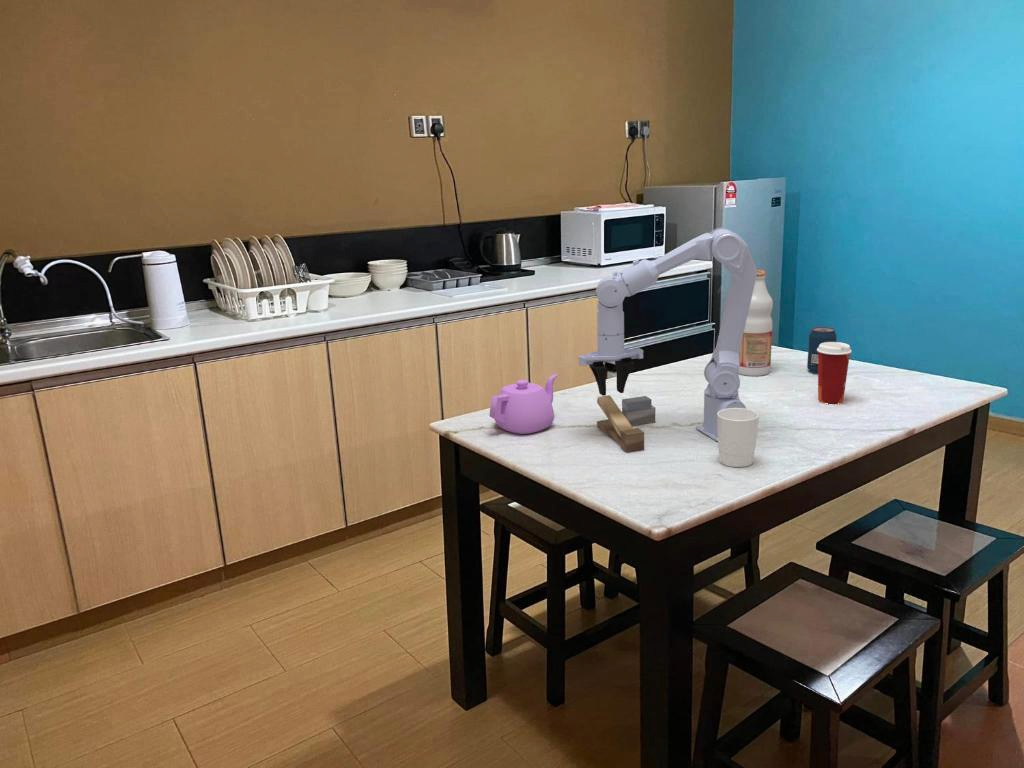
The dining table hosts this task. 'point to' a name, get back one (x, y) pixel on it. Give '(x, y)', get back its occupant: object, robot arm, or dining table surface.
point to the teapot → (524, 407)
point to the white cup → (737, 436)
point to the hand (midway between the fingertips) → (611, 393)
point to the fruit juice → (757, 332)
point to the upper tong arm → (613, 414)
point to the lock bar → (636, 403)
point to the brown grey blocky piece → (630, 437)
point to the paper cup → (832, 371)
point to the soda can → (815, 339)
